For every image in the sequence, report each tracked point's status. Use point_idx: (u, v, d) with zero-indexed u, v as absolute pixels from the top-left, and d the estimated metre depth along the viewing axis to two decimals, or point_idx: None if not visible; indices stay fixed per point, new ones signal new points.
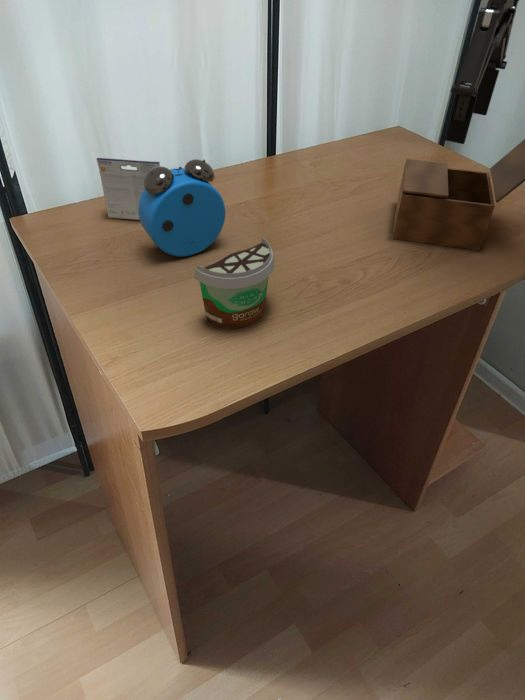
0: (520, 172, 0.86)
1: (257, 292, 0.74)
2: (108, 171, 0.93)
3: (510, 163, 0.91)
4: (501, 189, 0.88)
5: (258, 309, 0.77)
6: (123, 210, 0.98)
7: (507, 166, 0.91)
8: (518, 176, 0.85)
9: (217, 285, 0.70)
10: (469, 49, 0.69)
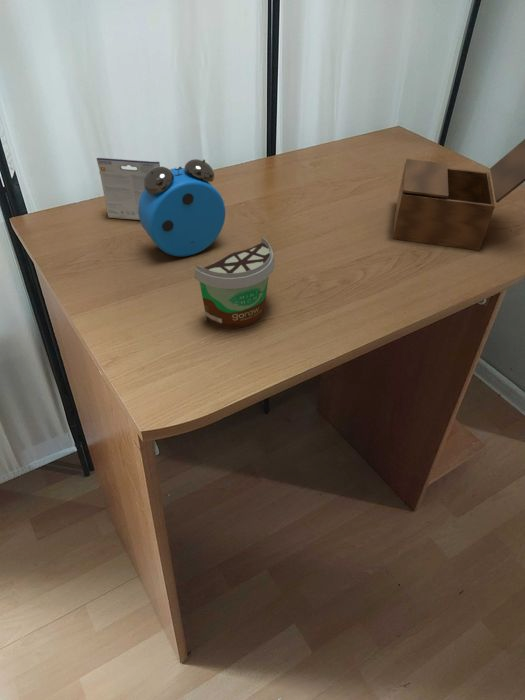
0: (520, 172, 0.86)
1: (257, 292, 0.74)
2: (108, 171, 0.93)
3: (510, 163, 0.91)
4: (501, 189, 0.88)
5: (258, 309, 0.77)
6: (123, 210, 0.98)
7: (507, 166, 0.91)
8: (518, 176, 0.85)
9: (217, 285, 0.70)
10: None
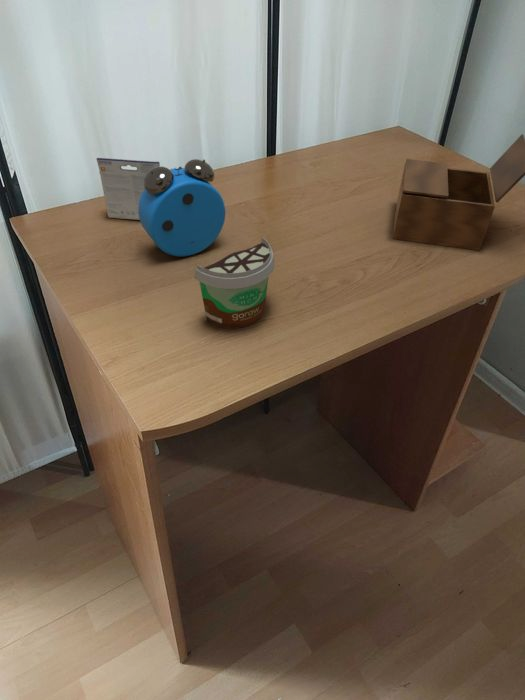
0: (517, 170, 0.86)
1: (257, 292, 0.74)
2: (108, 171, 0.93)
3: (507, 161, 0.91)
4: (500, 188, 0.88)
5: (258, 309, 0.77)
6: (123, 210, 0.98)
7: (505, 165, 0.91)
8: (515, 174, 0.85)
9: (217, 285, 0.70)
10: None
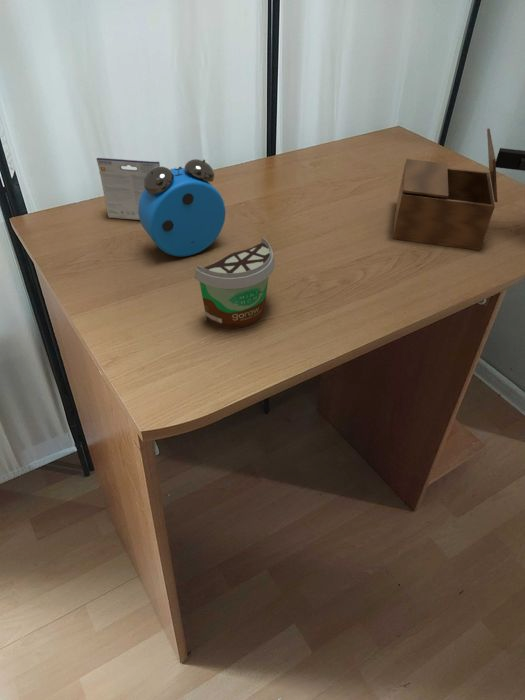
0: None
1: (257, 292, 0.74)
2: (108, 171, 0.93)
3: None
4: (493, 188, 0.88)
5: (258, 309, 0.77)
6: (123, 210, 0.98)
7: None
8: (492, 170, 0.86)
9: (217, 285, 0.70)
10: None
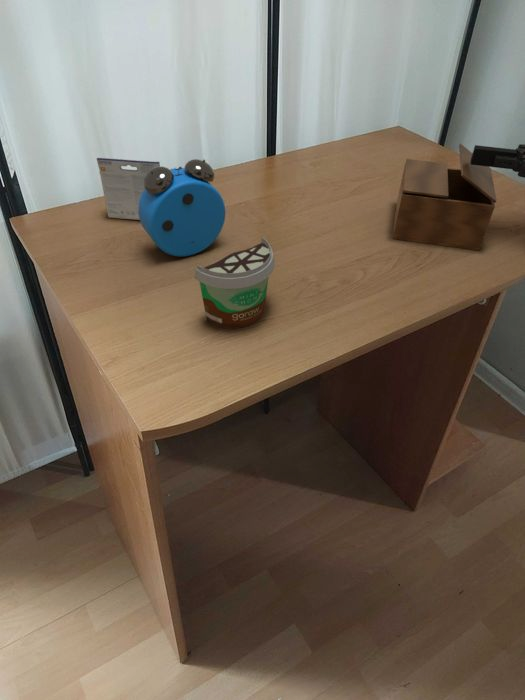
0: None
1: (257, 292, 0.74)
2: (108, 171, 0.93)
3: None
4: None
5: (258, 309, 0.77)
6: (123, 210, 0.98)
7: None
8: None
9: (217, 285, 0.70)
10: None
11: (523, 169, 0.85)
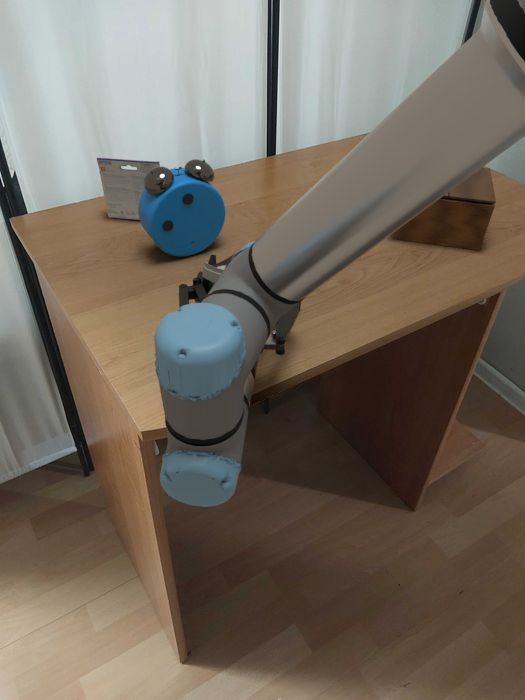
0: None
1: None
2: (108, 171, 0.93)
3: None
4: None
5: None
6: (123, 210, 0.98)
7: None
8: None
9: None
10: (290, 329, 0.69)
11: None
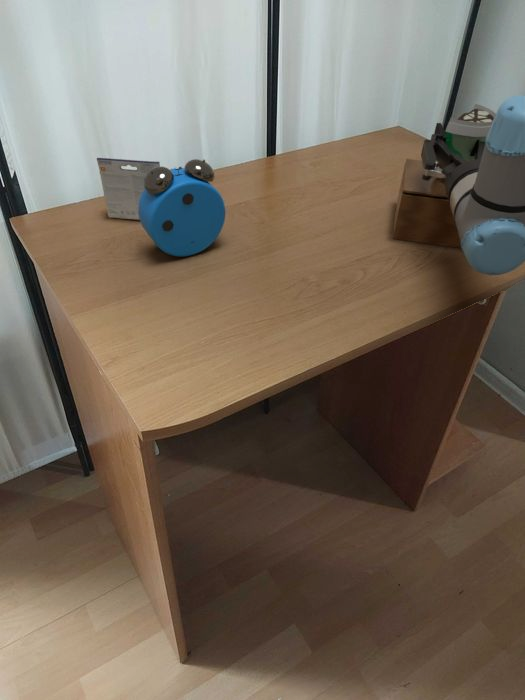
0: None
1: None
2: (108, 171, 0.93)
3: None
4: None
5: None
6: (123, 210, 0.98)
7: None
8: None
9: (469, 134, 0.85)
10: None
11: None
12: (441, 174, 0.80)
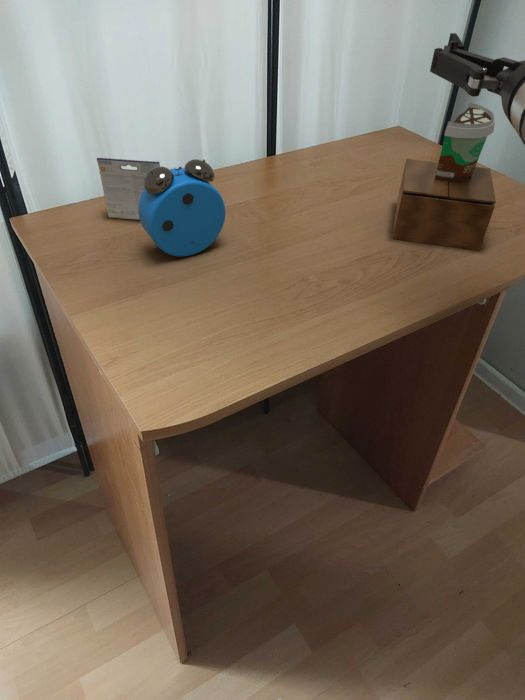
0: None
1: None
2: (108, 171, 0.93)
3: None
4: None
5: (476, 162, 0.93)
6: (123, 210, 0.98)
7: None
8: None
9: (468, 136, 0.85)
10: None
11: (433, 60, 0.65)
12: (497, 83, 0.59)
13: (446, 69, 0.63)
